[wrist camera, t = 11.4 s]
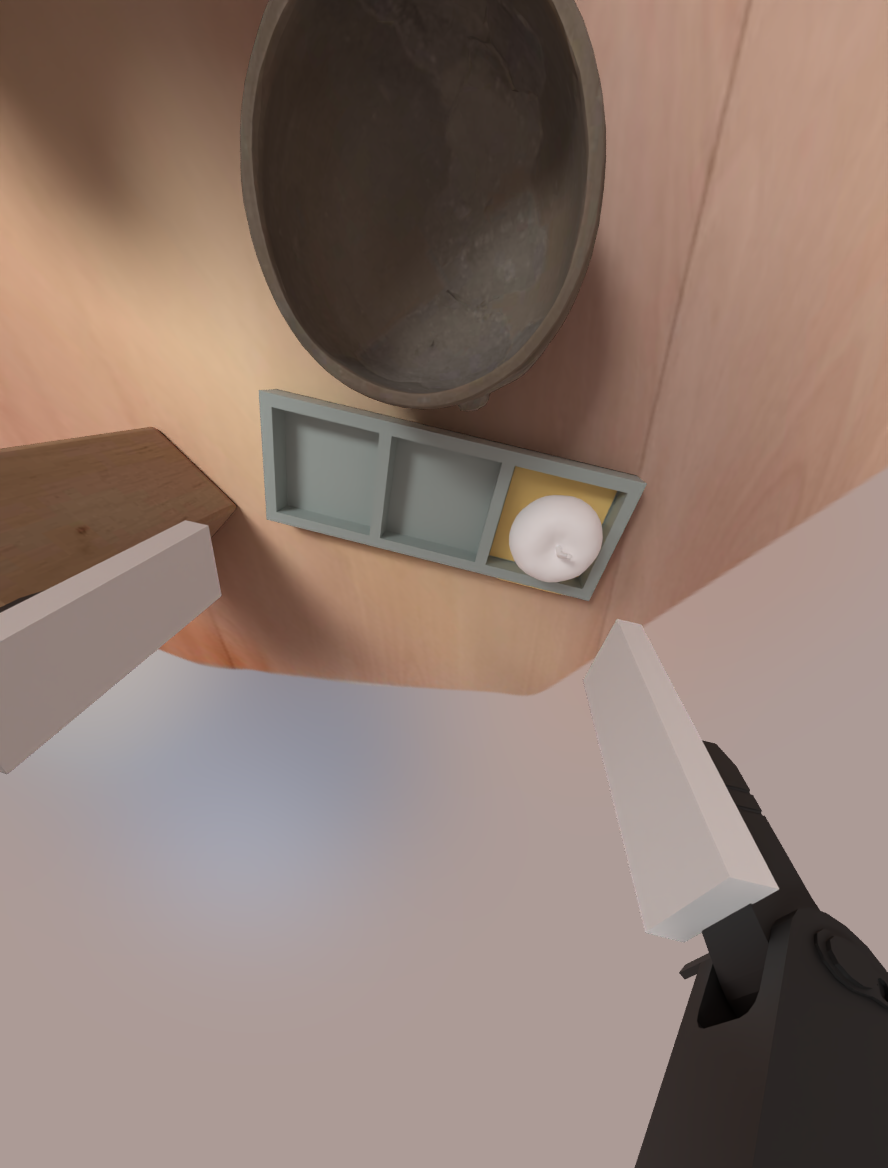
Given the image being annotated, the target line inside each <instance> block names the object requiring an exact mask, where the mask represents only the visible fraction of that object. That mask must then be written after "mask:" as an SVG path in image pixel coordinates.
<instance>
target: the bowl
mask: <svg viewBox="0 0 888 1168" xmlns="http://www.w3.org/2000/svg"><path fill="white" fill-rule="evenodd" d="M240 152H241V182H242V192H243V201H244V206H245V211H246V215H247V220H248V225H249V229H250V234H251V238H252V241H253V245H254V248H255V252H256V255H257V258H258V261H259V263H260V266H261V269H262V272H263V274H264V277H265V279H266V282H267V284H268V286H269V289H270V291H271V293H272V295H273V298H274V300H275V302H276V304H277V306H278V308H279V310H280V312H281V314H282V315H283V317H284V318H285V320H286V322H287V323H288V325H289V327H290V328H291V330H292V332H293V333H294V334H295V336H296V337H297V339H298V340H299V341H300V343H301V344H302V346H303V347H304V348H305V349H306V350H307V351H308V352H309V353H310V355H311V356H312V357H313V358H314V359H315V360H316V361H317V362H318V363H319V364H320V365H321V366H322V367H323V368H324V369H325V370H326V371H327V372H328V373H330V374H331V375H332V376H334V377H335V378H336V379H338V380H339V381H341V382H342V383H343V384H345V385H346V386H348V387H349V388H351V389H353V390H355V391H357V392H359V393H361V394H363V395H365V396H367V397H369V398H372V399H374V400H377V401H380V402H383V403H386V404H390V405H395V406H399V407H403V408H414V409H436V408H444V407H449V406H454V405H458V406H459V408H460V410H463V411H475V410H477V409H479V408H481V407H483V406H485V405H486V403H487V402H488V400H489V393H491V392H493V391H495V390H497V389H499V388H501V387H503V386H504V385H506V384H509V383H511V382H513V381H515V380H517V379H518V378H519V377H521V376H522V375H524V374H525V373H526V372H527V371H528V370H529V369H530V368H531V366H532V365H533V364H534V363H535V362H536V361H537V359H538V358H539V357H540V356H541V354H542V353H543V352H544V351H545V349H546V348H547V346H548V344H549V343H550V342H551V340H552V339H553V338H554V337H555V335H556V334H557V332H558V331H559V329H560V327H561V326H562V324H563V323H564V321H565V319H566V317H567V315H568V314H569V312H570V310H571V308H572V305H573V303H574V301H575V299H576V297H577V295H578V292H579V289H580V287H581V284H582V282H583V279H584V276H585V274H586V271H587V268H588V265H589V262H590V259H591V256H592V252H593V248H594V243H595V239H596V235H597V231H598V226H599V221H600V213H601V206H602V198H603V191H604V179H605V164H606V125H605V115H604V105H603V95H602V89H601V83H600V78H599V74H598V69H597V65H596V60H595V56H594V51H593V48H592V45H591V42H590V39H589V36H588V32H587V29H586V26H585V23H584V20H583V18H582V16H581V14H580V11H579V9H578V7H577V5H576V3H575V1H574V0H269V2H268V4H267V6H266V8H265V11H264V14H263V17H262V20H261V23H260V26H259V29H258V33H257V36H256V40H255V43H254V47H253V50H252V54H251V57H250V62H249V66H248V71H247V75H246V80H245V84H244V92H243V100H242V110H241V127H240Z"/></svg>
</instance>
